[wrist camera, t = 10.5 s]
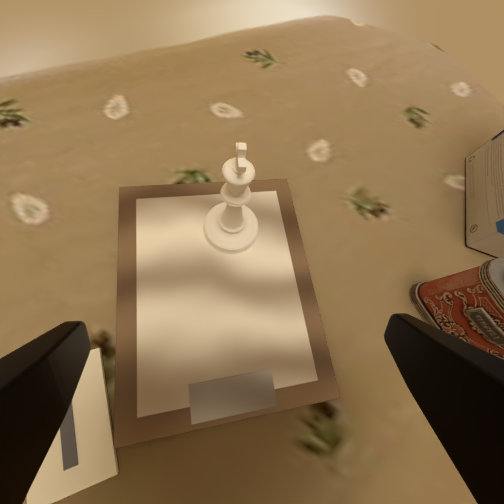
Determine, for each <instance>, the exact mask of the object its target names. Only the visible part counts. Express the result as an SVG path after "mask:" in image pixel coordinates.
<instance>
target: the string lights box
mask: <svg viewBox="0 0 504 504" xmlns="http://www.w3.org/2000/svg"><path fill="white" fill-rule="evenodd" d="M466 245H467V246H468V247H471V248H474V249H476V250H479V251H482V252H484V253H487V254H490V255H493V256H495V257H498V258H504V130H503V131H502V132H500V133H499V134H498V135H496V136H495V137H494V138H492V139H491V140H490V141H488V142H487V143H486V144H484V145H483V146H482V147H481V148H479V149H478V150H477V151H475V152H474V153H473V154H471V155H470V156H469V157H467V158H466Z"/></svg>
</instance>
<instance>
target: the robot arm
mask: <svg viewBox="0 0 504 504" xmlns="http://www.w3.org/2000/svg"><path fill="white" fill-rule="evenodd" d="M384 339H385V342H386V344H387V346H388V348H389V350H390V352H391V354H392V356H393V358H394V360H395V362H396V364H397V367H398V369H399V371H400V373H401V375H402V377H403V379H404V381H405V383H406V385H407V387H408V388H409V390H410V392H411V394H412V395H413V397H414V399H415V400H416V402H417V404H418V405H419V407H420V409H421V410H422V412H423V414H424V415H425V417H426V419H427V420H428V422H429V424H430V425H431V427H432V429H433V430H434V432H435V434H436V435H437V437H438V439H439V440H440V442H441V444H442V445H443V447H444V449H445V450H446V452H447V454H448V455H449V457H450V459H451V460H452V462H453V463H454V465H455V467H456V468H457V470H458V472H459V473H460V475H461V477H462V478H463V480H464V482H465V483H466V485H467V487H468V488H469V490H470V492H471V493H472V495H473V497H474V498H475V500H476V502H477V503H478V504H504V360H503V359H501V358H499V357H497V356H495V355H493V354H490V353H488V352H486V351H484V350H482V349H480V348H478V347H476V346H474V345H472V344H469V343H467V342H465V341H463V340H461V339H459V338H457V337H455V336H453V335H451V334H448V333H446V332H444V331H442V330H440V329H438V328H436V327H434V326H432V325H430V324H427V323H425V322H423V321H421V320H419V319H417V318H415V317H413V316H411V315H409V314H405V313H399V314H393V315H392V316H391V317H390V319H389V322H388V325H387V328H386V330H385V333H384ZM90 348H91V345H90V340H89V336H88V332H87V328H86V325H85V323H84V322H82V321H67V322H64V323H62V324H60V325H59V326H57V327H55V328H53V329H52V330H50V331H48V332H46V333H44V334H43V335H41V336H39V337H37V338H36V339H34V340H32V341H30V342H29V343H27V344H25V345H23V346H22V347H20V348H18V349H16V350H15V351H13V352H11V353H9V354H8V355H6V356H4V357H2V358H1V359H0V504H23V502H24V500H25V497H26V495H27V493H28V491H29V489H30V487H31V485H32V483H33V481H34V479H35V477H36V475H37V473H38V471H39V469H40V467H41V465H42V463H43V461H44V459H45V457H46V455H47V453H48V451H49V449H50V447H51V445H52V443H53V441H54V439H55V437H56V435H57V432H58V430H59V428H60V426H61V424H62V422H63V420H64V418H65V416H66V414H67V412H68V409H69V407H70V404H71V402H72V399H73V396H74V394H75V391H76V388H77V386H78V383H79V380H80V378H81V375H82V372H83V370H84V367H85V364H86V362H87V359H88V356H89V353H90Z"/></svg>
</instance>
